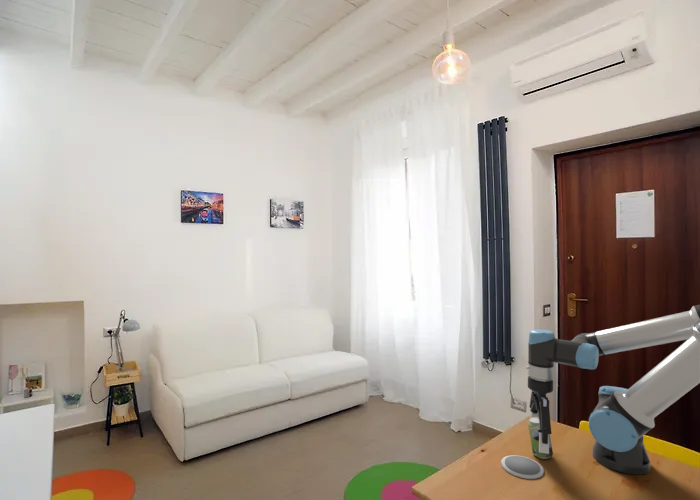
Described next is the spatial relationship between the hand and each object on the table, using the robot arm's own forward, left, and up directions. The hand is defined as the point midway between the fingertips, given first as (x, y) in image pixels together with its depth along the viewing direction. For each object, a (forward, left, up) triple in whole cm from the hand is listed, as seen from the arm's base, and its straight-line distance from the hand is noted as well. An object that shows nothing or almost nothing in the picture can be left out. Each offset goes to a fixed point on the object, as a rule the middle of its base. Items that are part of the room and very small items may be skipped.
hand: (539, 442), depth 127 cm
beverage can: (0, 0, -5) cm, 5 cm away
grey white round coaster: (+7, +9, -4) cm, 12 cm away
